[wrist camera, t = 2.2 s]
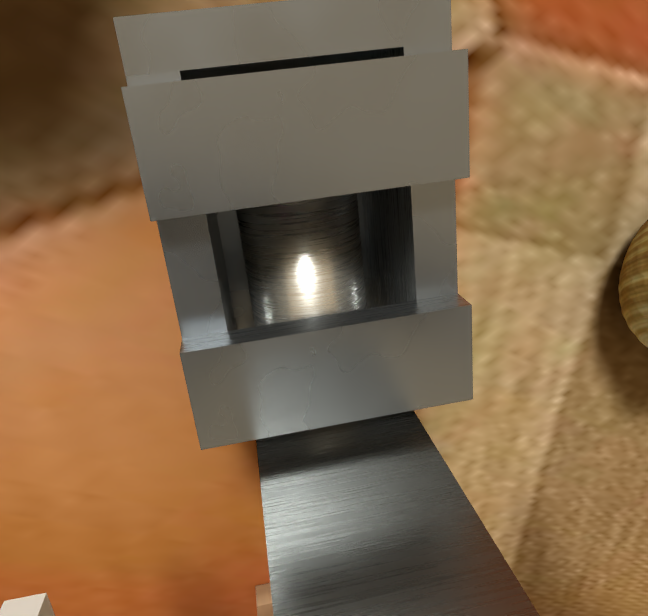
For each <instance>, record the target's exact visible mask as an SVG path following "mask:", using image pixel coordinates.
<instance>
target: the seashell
mask: <svg viewBox="0 0 648 616" xmlns="http://www.w3.org/2000/svg"><path fill="white" fill-rule="evenodd" d="M618 290H619V301H620V305H621V310H622V315H623V317H624V318H625V320H626V322H627V325H628V327H629V329H630V330H631V331H632V332H633V333H634V334H635V335H636V337H637V338H638V340H639V341H640V342H641V343H642V344H643V345H645V346H646V347H648V220H647V221H646V222H645V223H644V224H643V225H642V226H641V228H640V230H639V231H638V233H637V234H636V236H635V237H634V238H633V239H632V242H631V245H630V246H629V248H628V250H627V253H626V256H625V258H624V261H623V265H622V269H621V272H620V276H619V285H618Z"/></svg>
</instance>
